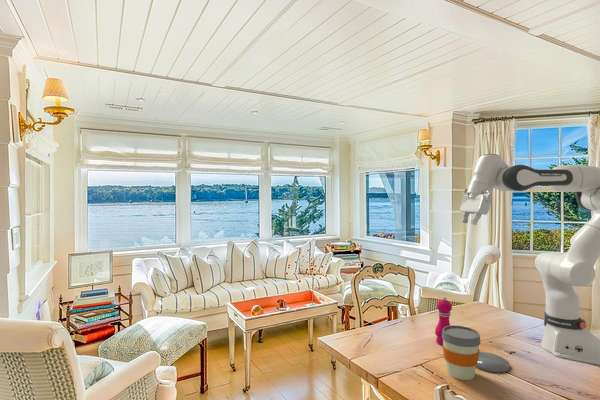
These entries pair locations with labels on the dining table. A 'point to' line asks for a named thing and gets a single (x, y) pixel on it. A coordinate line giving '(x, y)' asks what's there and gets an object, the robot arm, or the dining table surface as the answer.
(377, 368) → the dining table surface
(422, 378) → the dining table surface
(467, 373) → the reusable coffee cup
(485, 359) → the plate
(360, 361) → the dining table surface
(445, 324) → the pepper mill
